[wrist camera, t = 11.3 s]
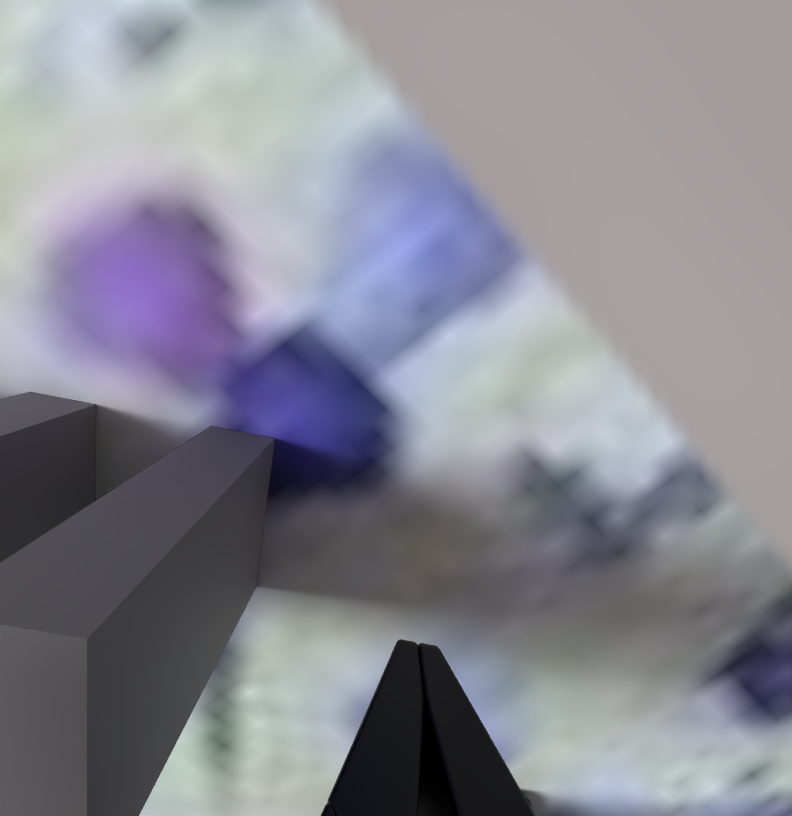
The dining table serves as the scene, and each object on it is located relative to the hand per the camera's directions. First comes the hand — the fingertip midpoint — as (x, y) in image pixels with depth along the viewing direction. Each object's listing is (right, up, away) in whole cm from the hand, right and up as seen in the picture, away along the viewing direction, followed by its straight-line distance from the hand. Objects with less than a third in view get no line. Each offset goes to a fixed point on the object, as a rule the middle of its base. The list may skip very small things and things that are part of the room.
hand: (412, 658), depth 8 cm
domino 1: (-5, +2, +4) cm, 7 cm away
